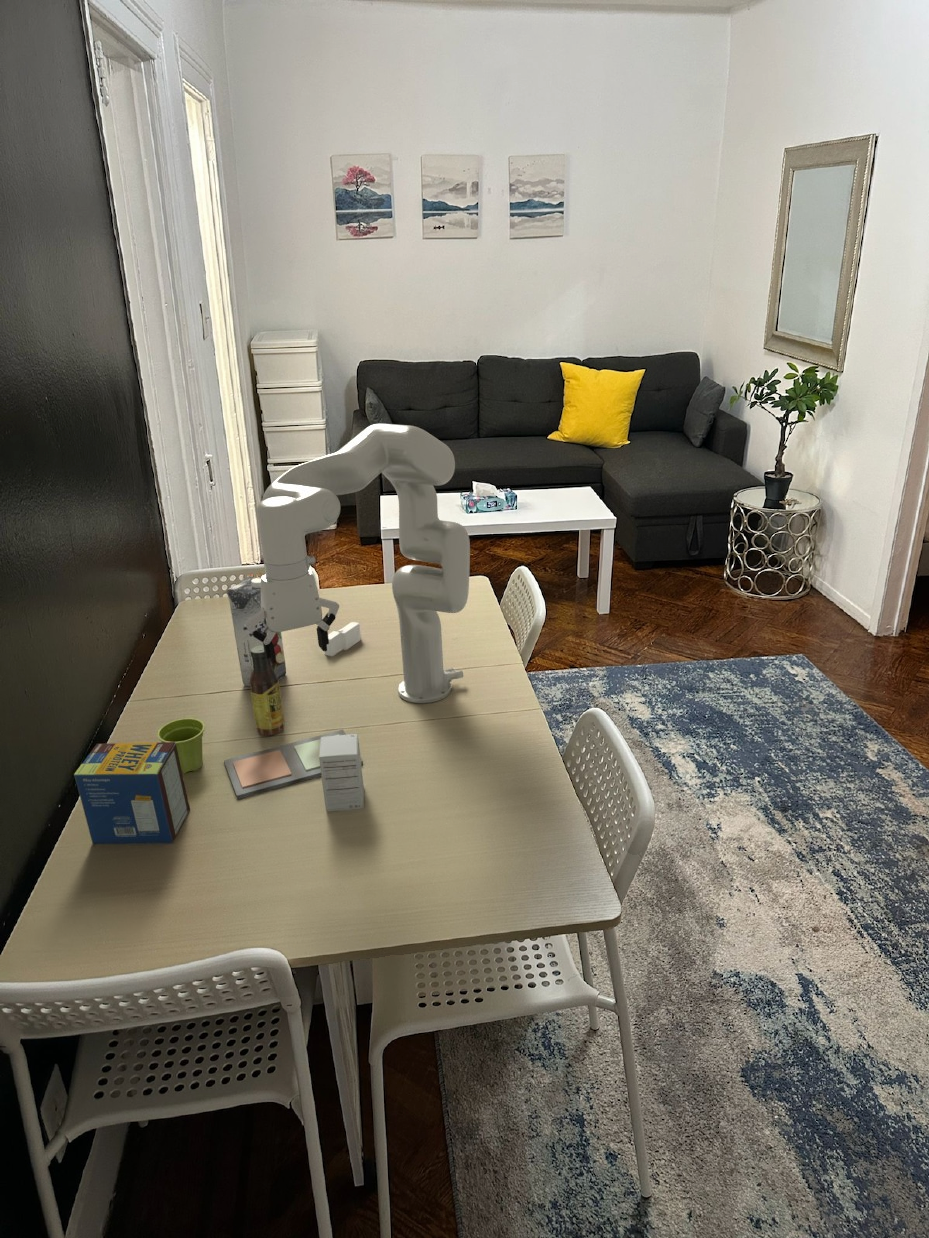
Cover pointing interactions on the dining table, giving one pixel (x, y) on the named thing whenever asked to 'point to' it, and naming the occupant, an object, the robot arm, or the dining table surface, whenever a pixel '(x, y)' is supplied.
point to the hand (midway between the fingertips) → (297, 654)
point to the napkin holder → (343, 638)
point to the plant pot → (185, 741)
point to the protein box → (133, 793)
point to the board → (276, 766)
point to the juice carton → (244, 607)
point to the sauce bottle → (265, 694)
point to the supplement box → (341, 772)
